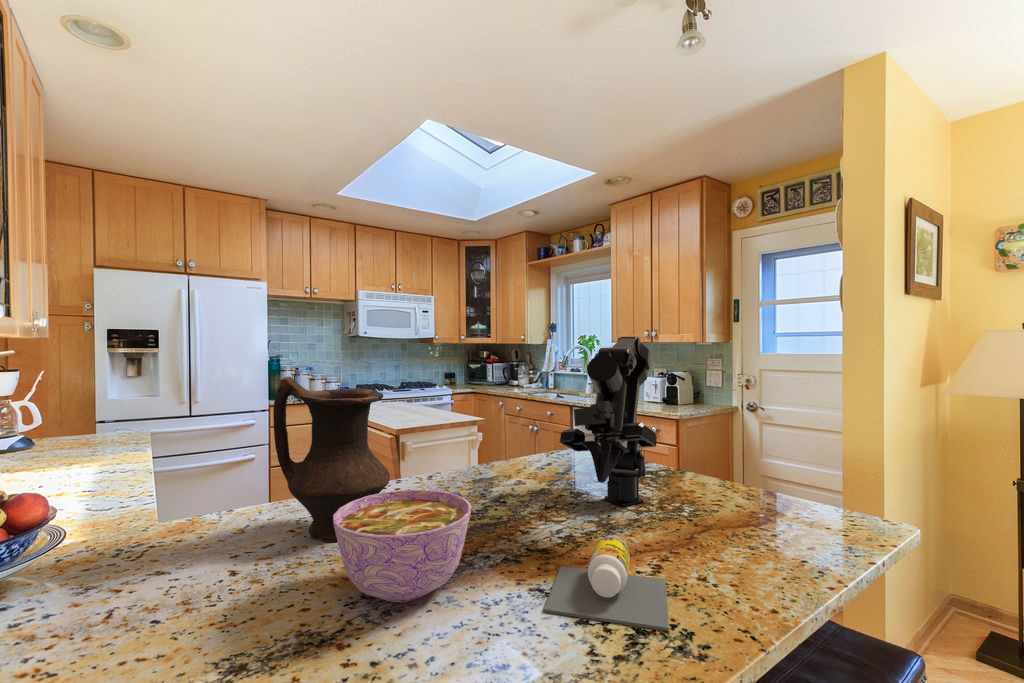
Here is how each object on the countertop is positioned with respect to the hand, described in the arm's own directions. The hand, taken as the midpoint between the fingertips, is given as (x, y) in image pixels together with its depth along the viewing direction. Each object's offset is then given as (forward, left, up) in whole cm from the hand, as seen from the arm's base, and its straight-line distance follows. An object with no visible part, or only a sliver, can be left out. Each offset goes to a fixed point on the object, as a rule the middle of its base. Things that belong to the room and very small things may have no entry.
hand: (601, 482), depth 90 cm
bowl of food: (+37, 0, -11) cm, 38 cm away
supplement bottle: (+7, +11, -7) cm, 15 cm away
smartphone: (+18, -31, -11) cm, 37 cm away
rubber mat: (+12, +17, -10) cm, 23 cm away
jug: (+43, -28, -11) cm, 52 cm away
